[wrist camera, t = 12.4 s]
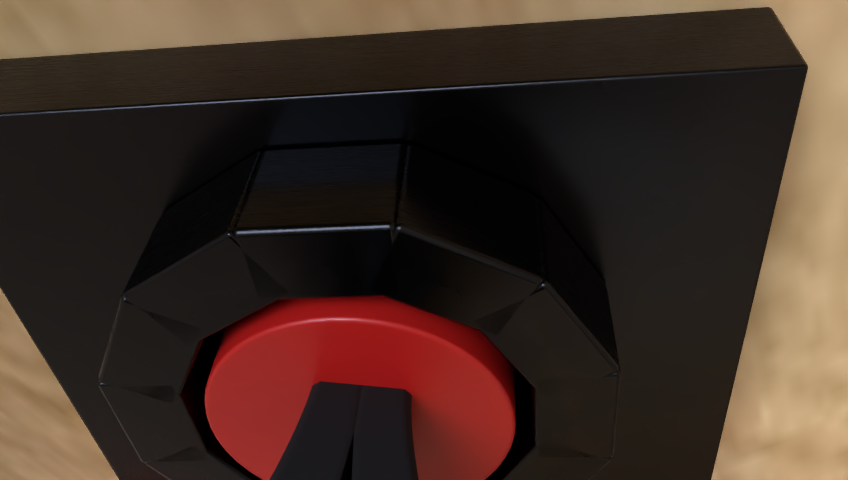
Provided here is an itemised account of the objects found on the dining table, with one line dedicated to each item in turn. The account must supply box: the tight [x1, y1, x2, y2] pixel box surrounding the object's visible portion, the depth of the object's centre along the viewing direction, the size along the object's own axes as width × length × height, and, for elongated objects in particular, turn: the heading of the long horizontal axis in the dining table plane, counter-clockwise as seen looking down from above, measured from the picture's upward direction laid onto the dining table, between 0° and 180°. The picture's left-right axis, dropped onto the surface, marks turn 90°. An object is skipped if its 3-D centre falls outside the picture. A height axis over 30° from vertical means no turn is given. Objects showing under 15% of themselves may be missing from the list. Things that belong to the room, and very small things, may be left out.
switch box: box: [0, 7, 808, 480], centre depth 13 cm, size 12×9×4 cm
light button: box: [204, 296, 516, 480], centre depth 12 cm, size 5×5×2 cm
